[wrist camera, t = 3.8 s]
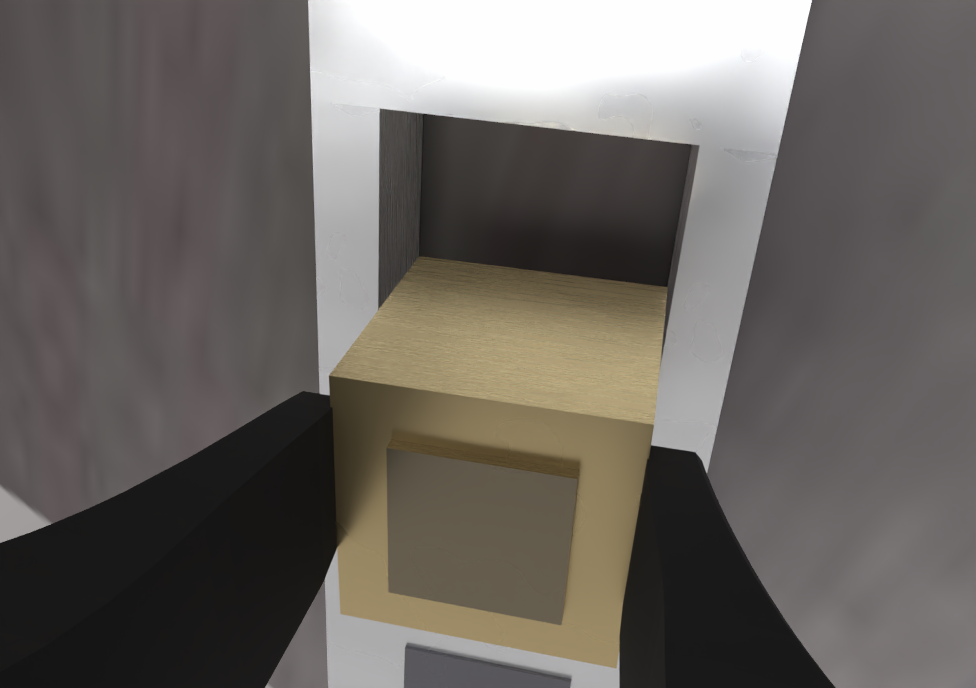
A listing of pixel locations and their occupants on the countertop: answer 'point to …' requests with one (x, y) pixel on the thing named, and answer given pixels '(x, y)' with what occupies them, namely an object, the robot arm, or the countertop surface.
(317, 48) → the grey board with holes
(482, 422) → the block
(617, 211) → the countertop surface
